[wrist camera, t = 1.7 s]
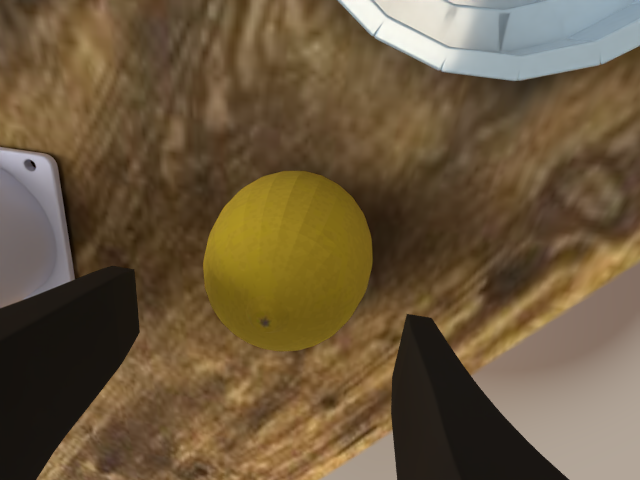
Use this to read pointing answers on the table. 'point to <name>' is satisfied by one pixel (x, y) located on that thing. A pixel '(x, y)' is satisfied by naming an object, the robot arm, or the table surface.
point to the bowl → (503, 33)
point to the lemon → (288, 261)
